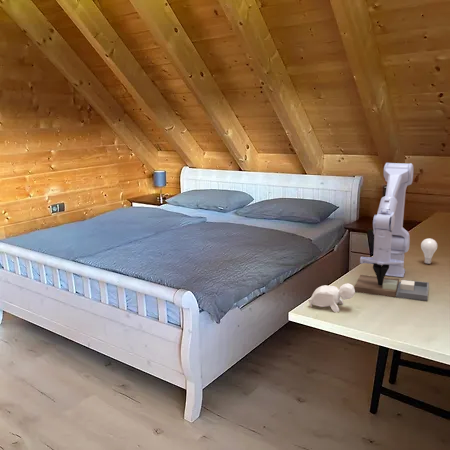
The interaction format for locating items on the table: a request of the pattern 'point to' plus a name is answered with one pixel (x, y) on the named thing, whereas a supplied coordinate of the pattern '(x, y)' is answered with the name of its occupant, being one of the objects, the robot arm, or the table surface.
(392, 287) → the tile green
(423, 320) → the table surface
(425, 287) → the box
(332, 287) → the white turtle figurine
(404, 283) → the tile cream
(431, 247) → the lightbulb
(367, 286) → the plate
